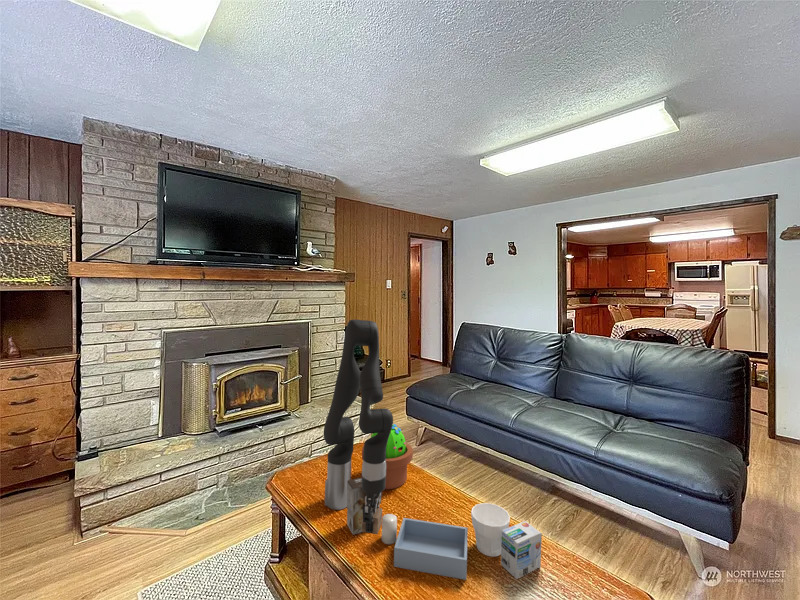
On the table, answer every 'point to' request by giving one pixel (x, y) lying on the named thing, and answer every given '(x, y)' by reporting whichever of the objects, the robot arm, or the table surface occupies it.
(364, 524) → the cube
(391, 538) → the white rounded cylinder
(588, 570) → the table surface
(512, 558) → the light bulb box
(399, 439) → the potted cactus
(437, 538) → the tote
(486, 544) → the cup
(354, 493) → the coffee box
